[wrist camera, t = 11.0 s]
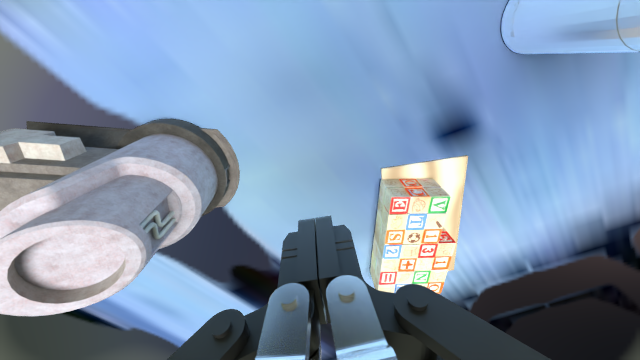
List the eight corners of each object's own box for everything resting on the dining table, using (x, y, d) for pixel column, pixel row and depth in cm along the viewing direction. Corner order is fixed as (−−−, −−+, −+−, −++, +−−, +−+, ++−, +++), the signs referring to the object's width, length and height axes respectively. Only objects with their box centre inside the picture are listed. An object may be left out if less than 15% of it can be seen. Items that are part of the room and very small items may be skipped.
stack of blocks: (390, 197, 37) (471, 194, 38) (379, 178, 43) (449, 176, 43) (377, 297, 47) (442, 294, 47) (369, 271, 52) (427, 269, 53)
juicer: (237, 123, 38) (144, 213, 16) (241, 212, 45) (180, 360, 23) (20, 106, 35) (-446, 184, 13) (60, 203, 42) (-205, 360, 20)
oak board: (466, 155, 42) (468, 156, 42) (452, 268, 54) (453, 269, 53) (381, 168, 42) (381, 169, 42) (385, 278, 54) (385, 279, 53)
